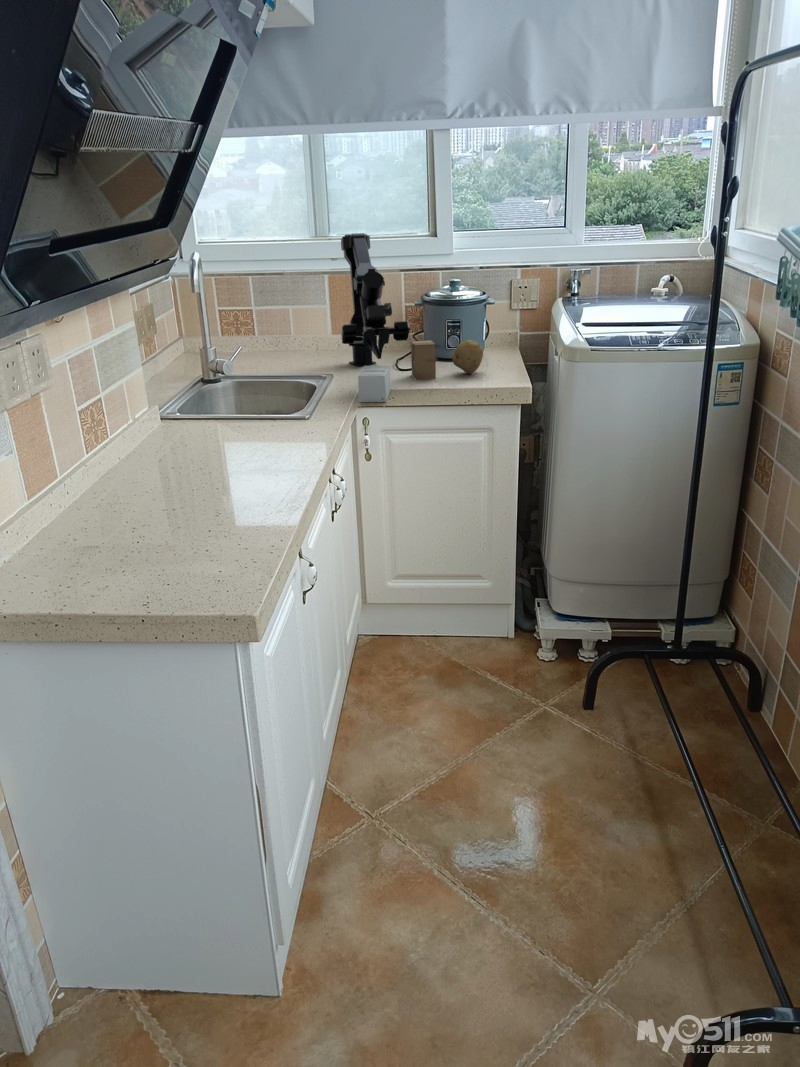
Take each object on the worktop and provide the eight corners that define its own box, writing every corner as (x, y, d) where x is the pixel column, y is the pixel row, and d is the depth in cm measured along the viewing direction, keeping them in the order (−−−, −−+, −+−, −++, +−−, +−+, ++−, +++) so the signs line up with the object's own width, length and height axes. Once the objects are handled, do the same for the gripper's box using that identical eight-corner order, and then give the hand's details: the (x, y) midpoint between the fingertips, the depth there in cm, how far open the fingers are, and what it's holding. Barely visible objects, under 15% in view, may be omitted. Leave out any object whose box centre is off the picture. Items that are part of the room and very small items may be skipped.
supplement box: (390, 364, 229) (385, 375, 218) (390, 391, 232) (386, 403, 221) (363, 364, 230) (357, 375, 219) (364, 391, 233) (358, 403, 222)
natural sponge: (451, 377, 246) (451, 343, 242) (453, 370, 254) (453, 337, 250) (482, 377, 245) (483, 343, 241) (483, 370, 253) (483, 337, 249)
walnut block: (411, 375, 250) (411, 341, 246) (431, 373, 251) (430, 340, 247) (415, 379, 245) (415, 345, 241) (435, 378, 246) (435, 344, 242)
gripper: (340, 294, 226) (347, 343, 221) (407, 291, 229) (416, 338, 224) (338, 319, 237) (345, 366, 231) (403, 316, 240) (411, 362, 234)
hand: (379, 358), depth 230 cm, fingers closed
